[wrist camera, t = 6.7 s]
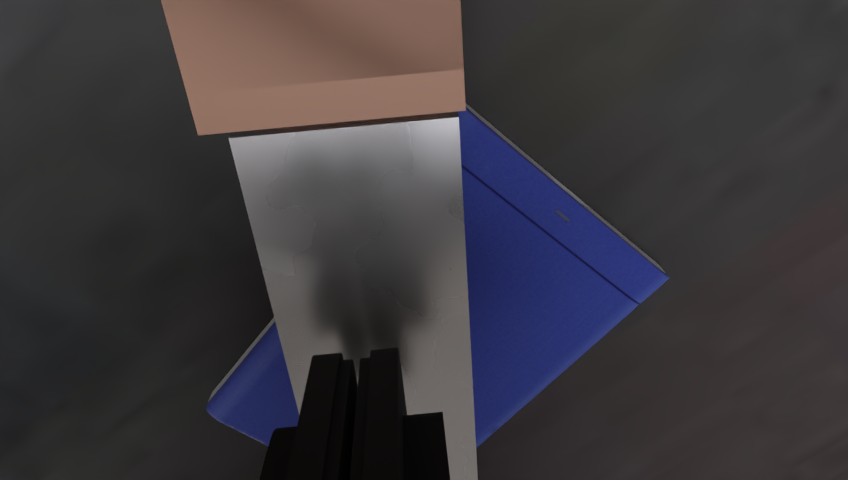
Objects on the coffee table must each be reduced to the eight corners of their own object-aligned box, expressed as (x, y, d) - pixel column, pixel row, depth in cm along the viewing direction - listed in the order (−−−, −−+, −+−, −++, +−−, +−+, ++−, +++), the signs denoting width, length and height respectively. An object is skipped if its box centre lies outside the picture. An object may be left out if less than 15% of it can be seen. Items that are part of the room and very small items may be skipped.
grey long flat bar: (483, 635, 19) (489, 682, 18) (369, 646, 19) (367, 694, 18) (452, 101, 10) (460, 121, 9) (244, 121, 10) (223, 143, 9)
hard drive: (406, 517, 20) (675, 282, 16) (201, 415, 17) (459, 103, 13) (405, 480, 21) (652, 256, 17) (216, 381, 18) (453, 90, 14)
